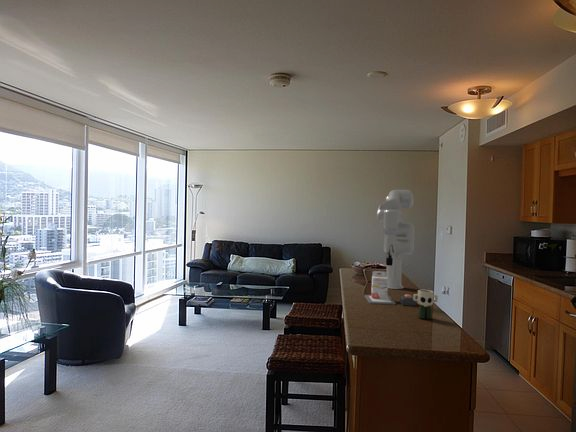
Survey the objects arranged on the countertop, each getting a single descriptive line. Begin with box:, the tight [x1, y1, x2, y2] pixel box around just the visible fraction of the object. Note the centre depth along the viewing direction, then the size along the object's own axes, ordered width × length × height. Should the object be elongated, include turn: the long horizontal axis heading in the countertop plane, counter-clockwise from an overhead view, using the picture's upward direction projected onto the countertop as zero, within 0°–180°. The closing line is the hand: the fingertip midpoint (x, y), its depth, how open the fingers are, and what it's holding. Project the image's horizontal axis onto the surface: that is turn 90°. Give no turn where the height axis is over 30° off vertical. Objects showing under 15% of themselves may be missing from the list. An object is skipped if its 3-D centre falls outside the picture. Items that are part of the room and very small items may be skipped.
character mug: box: [413, 289, 439, 320], centre depth 198 cm, size 11×7×13 cm, turn 80°
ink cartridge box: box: [370, 270, 389, 299], centre depth 236 cm, size 9×5×15 cm, turn 86°
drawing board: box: [364, 294, 397, 305], centre depth 234 cm, size 18×14×1 cm
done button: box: [403, 293, 412, 298], centre depth 227 cm, size 4×4×2 cm
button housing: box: [399, 295, 417, 307], centre depth 227 cm, size 7×7×4 cm
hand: (389, 265), depth 232 cm, fingers closed
